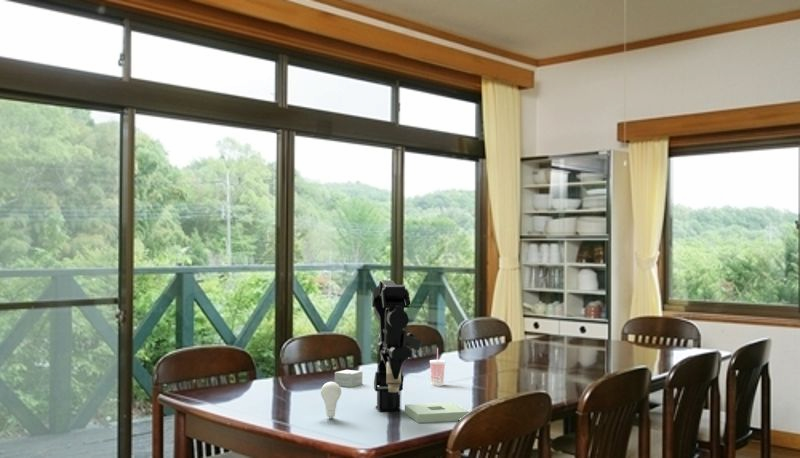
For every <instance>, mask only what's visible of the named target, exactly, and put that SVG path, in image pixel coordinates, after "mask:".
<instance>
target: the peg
mask: <svg viewBox="0 0 800 458" xmlns="http://www.w3.org/2000/svg"><path fill="white" fill-rule="evenodd" d="M401 372H402V368H401V369H400V373H399V376H398V379H394V378H393V375H392V372H391V368H390V365H389V362H387V370H386V384H388V392H398V393H399V392H400V391H399V385H400V384H401Z"/></svg>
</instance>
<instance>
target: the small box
mask: <svg viewBox="0 0 800 458" xmlns="http://www.w3.org/2000/svg"><path fill="white" fill-rule="evenodd" d="M334 382H335V383H337V384H338V385H339V386H340V387H345V386H346V388H354V387H357V385H358V386H361V385H363V371H362V370H353V369H352V370H351V369H344V370H343V369H342V370H339V371H335V372H334ZM353 386H354V387H353Z"/></svg>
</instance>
